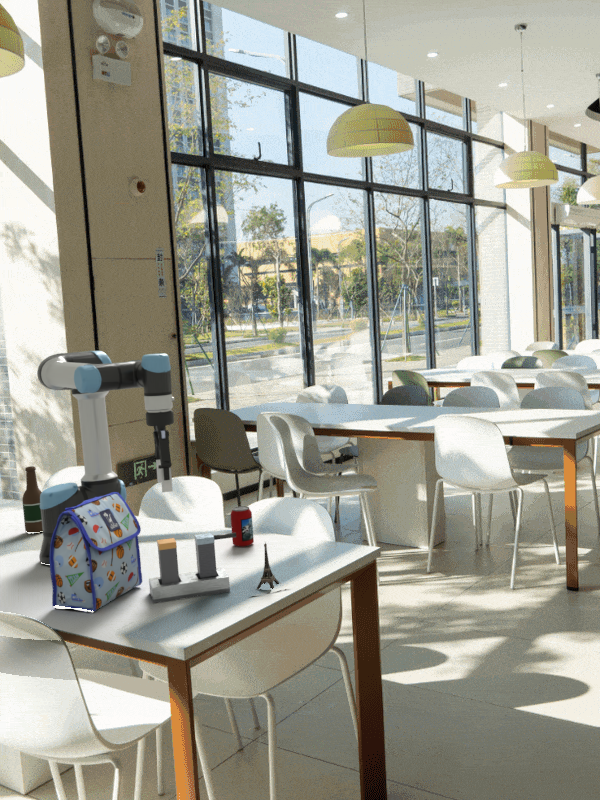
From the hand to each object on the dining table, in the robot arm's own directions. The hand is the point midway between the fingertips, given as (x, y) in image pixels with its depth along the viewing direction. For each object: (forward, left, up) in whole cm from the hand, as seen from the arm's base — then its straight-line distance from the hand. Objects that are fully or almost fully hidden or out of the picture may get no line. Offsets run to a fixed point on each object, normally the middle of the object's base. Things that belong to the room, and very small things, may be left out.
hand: (164, 486), depth 228 cm
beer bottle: (-85, -39, -27) cm, 97 cm away
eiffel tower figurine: (+18, +23, -27) cm, 40 cm away
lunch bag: (+6, -20, -27) cm, 34 cm away
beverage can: (-28, +26, -27) cm, 46 cm away
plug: (+12, -2, -26) cm, 29 cm away
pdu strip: (+12, +5, -27) cm, 30 cm away
